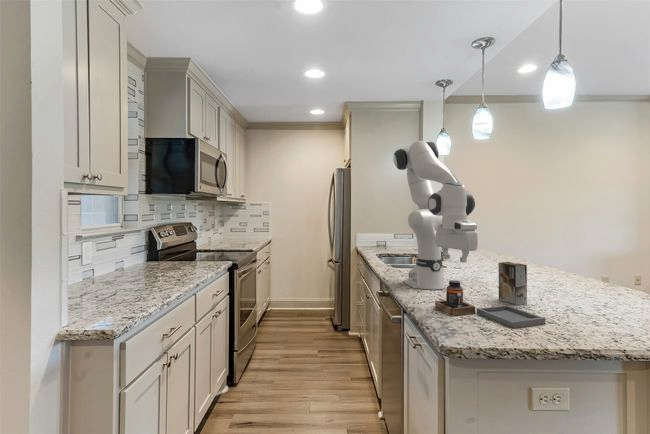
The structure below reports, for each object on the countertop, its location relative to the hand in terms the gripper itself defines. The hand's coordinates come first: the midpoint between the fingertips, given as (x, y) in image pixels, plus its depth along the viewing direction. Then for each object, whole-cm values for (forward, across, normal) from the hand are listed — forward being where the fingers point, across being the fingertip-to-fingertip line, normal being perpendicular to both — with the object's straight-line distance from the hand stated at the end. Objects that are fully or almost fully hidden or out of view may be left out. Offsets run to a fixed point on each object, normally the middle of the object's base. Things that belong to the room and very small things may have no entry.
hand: (454, 260), depth 127 cm
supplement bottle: (+20, 0, 0) cm, 20 cm away
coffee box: (+20, -4, +31) cm, 37 cm away
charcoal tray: (+20, +14, +12) cm, 27 cm away
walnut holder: (+19, 0, 0) cm, 19 cm away
